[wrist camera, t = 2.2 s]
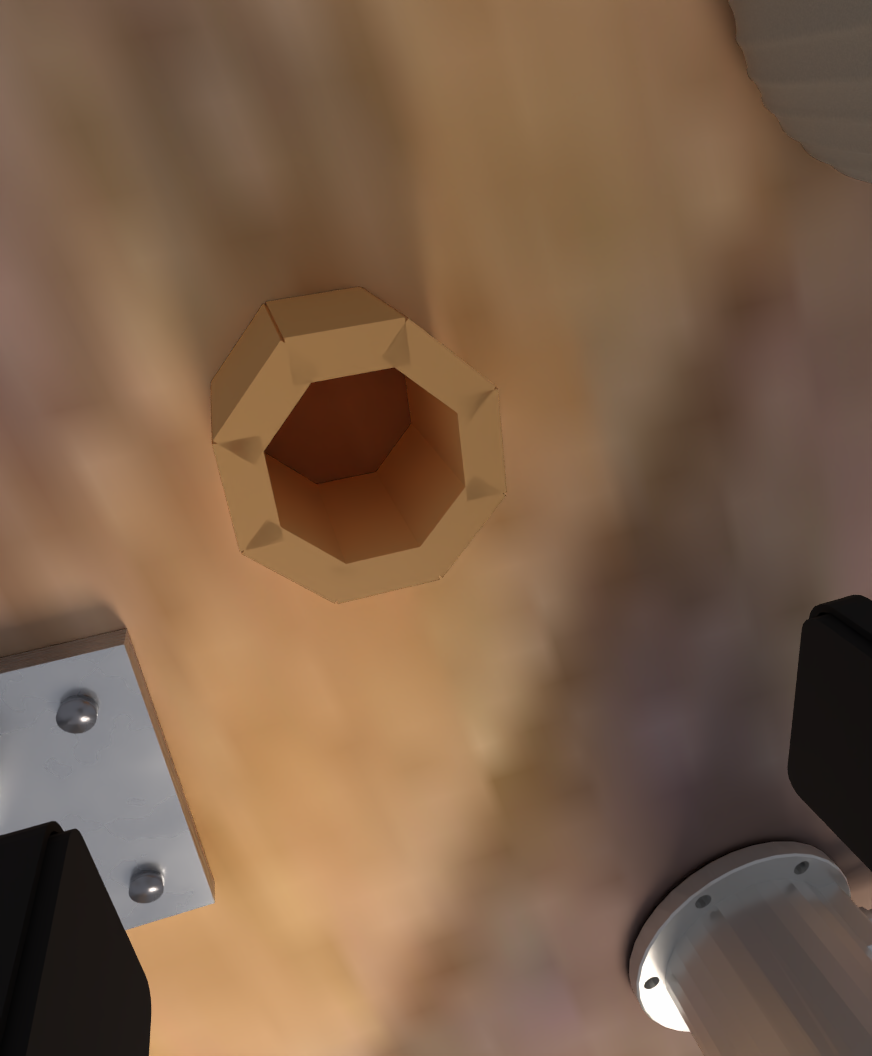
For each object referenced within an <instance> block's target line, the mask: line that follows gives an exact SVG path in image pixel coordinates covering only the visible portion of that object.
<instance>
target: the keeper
mask: <svg viewBox="0 0 872 1056" xmlns="http://www.w3.org/2000/svg"><path fill="white" fill-rule="evenodd" d="M50 821H56V822H57V823H58V824H60V826H61V827H62V829H63V831H67V830H70V829H78V830H79V831H80V833H81V835H82V836H83V839H84V841H85V843H86V845H87V847H88V850H89V852H90V854H91V856H92V858H93V861H94V863H95V865H96V867H97V869H98V872H99V874H100V876H101V878H102V881H103V883H104V885H105V887H106V889H107V892H108V894H109V896H110V898H111V900H112V903H113V905H114V907H115V909H116V911H117V914H118V916H119V918H120V920H121V923H122V925H123V927H124V929H125V930H127V929H131V928H134V927H137V926H140V925H144V924H147V923H150V922H154V921H157V920H160V919H163V918H167V917H170V916H173V915H177V914H180V913H183V912H186V911H190V910H193V909H196V908H200V907H203V906H206V905H209V904H213V903H215V882H214V879H213V876H212V873H211V870H210V867H209V865H208V862H207V859H206V856H205V853H204V850H203V847H202V844H201V841H200V839H199V836H198V833H197V830H196V827H195V824H194V821H193V818H192V815H191V813H190V810H189V807H188V804H187V801H186V798H185V795H184V792H183V789H182V787H181V784H180V781H179V778H178V775H177V772H176V769H175V766H174V763H173V761H172V758H171V755H170V752H169V749H168V746H167V743H166V740H165V737H164V735H163V732H162V729H161V726H160V723H159V720H158V717H157V714H156V711H155V709H154V706H153V703H152V700H151V697H150V694H149V691H148V688H147V685H146V683H145V680H144V677H143V674H142V671H141V668H140V665H139V662H138V659H137V657H136V654H135V651H134V648H133V645H132V642H131V639H130V636H129V633H128V631H127V629H123V630H118V631H114V632H110V633H105V634H101V635H97V636H93V637H88V638H84V639H80V640H75V641H71V642H67V643H63V644H58V645H54V646H50V647H46V648H41V649H37V650H33V651H28V652H24V653H20V654H16V655H11V656H7V657H3V658H0V835H4V834H7V833H11V832H14V831H18V830H22V829H25V828H29V827H32V826H36V825H39V824H43V823H46V822H50Z"/></svg>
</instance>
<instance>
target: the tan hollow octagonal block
mask: <svg viewBox="0 0 872 1056" xmlns="http://www.w3.org/2000/svg"><path fill="white" fill-rule="evenodd" d="M266 305H267V306H266ZM266 305H265V304H262V306H261V307H260V309H259V310H258V312H257V313H256V315H255V316H254V318H253V319H252V321H251V322H250V324H249V325H248V327H247V328H246V330H245V331H244V333H243V334H242V336H241V337H240V339H239V340H238V342H237V344H236V345H235V347H234V348H233V350H232V351H231V353H230V354H229V356H228V357H227V359H226V360H225V362H224V363H223V365H222V366H221V368H220V369H219V371H218V372H217V374H216V375H215V377H214V378H213V380H212V381H211V424H212V446H213V450H214V454H215V458H216V462H217V466H218V470H219V474H220V478H221V481H222V485H223V489H224V493H225V497H226V501H227V505H228V509H229V512H230V516H231V520H232V524H233V528H234V532H235V536H236V540H237V543H238V547H239V551H242V555H244V556H246V557H248V558H250V559H252V560H254V561H256V562H257V563H259V564H261V565H263V566H265V567H267V568H269V569H271V570H272V571H274V572H276V573H278V574H280V575H282V576H284V577H286V578H287V579H289V580H291V581H293V582H295V583H297V584H299V585H301V586H302V587H304V588H306V589H308V590H310V591H312V592H314V593H316V594H317V595H319V596H321V597H323V598H325V599H327V600H329V601H331V602H332V603H334V604H335V602H336V601H337V603H338V604H340V603H344V602H348V601H352V600H356V599H361V598H365V597H369V596H373V595H377V594H382V593H386V592H390V591H394V590H398V589H402V588H407V587H411V586H415V585H419V584H423V583H427V582H432V581H436V580H440V578H439V576H441V577H442V578H443V577H444V575H445V574H446V573H447V571H448V570H449V569H450V567H451V566H452V565H453V564H454V562H455V561H456V560H457V558H458V557H459V556H460V554H461V553H462V552H463V551H464V549H465V548H466V547H467V545H468V544H469V543H470V541H471V540H472V539H473V538H474V536H475V535H476V534H477V532H478V531H479V530H480V528H481V527H482V526H483V525H484V523H485V522H486V521H487V519H488V518H489V517H490V515H491V514H492V513H493V512H494V510H495V509H496V508H497V506H498V505H499V504H500V502H501V501H502V500H503V499H504V497H505V496H506V495H505V494H504V493H506V492H507V488H506V477H505V465H504V453H503V441H502V430H501V418H500V406H499V394H498V389H497V388H496V385H495V384H493V383H492V382H491V381H489V380H488V379H487V378H485V377H484V376H483V375H482V374H480V373H479V372H478V371H476V370H475V369H474V368H472V367H471V366H470V365H469V364H467V363H466V362H465V361H463V360H462V359H461V358H459V357H458V356H457V355H456V354H454V353H453V352H452V351H450V350H449V349H448V348H447V347H445V346H444V345H443V344H441V343H440V342H439V341H437V340H436V339H435V338H434V337H432V336H431V335H430V334H428V333H427V332H426V331H424V330H423V329H422V328H421V327H419V326H418V325H417V324H415V323H414V322H413V321H411V320H410V319H409V318H407V317H406V316H404V315H403V314H401V313H400V312H398V311H397V310H395V309H394V308H392V307H391V306H389V305H388V304H386V303H385V302H383V301H382V300H380V299H379V298H377V297H376V296H374V295H373V294H371V293H370V292H368V291H367V290H366V289H364V288H363V287H362V288H361V287H354V288H348V289H341V290H335V291H329V292H323V293H317V294H311V295H304V296H298V297H292V298H286V299H280V300H274V301H267V302H266ZM393 367H395V368H396V369H397V370H399V371H400V372H402V373H403V374H404V375H405V381H406V389H407V396H408V403H409V410H410V418H411V424H410V426H409V427H408V428H407V430H406V431H405V433H404V434H403V435H402V437H401V438H400V439H399V441H398V442H397V444H396V445H395V446H394V448H393V449H392V450H391V452H390V453H389V455H388V456H387V457H386V459H385V460H384V461H383V463H382V464H381V466H380V467H379V468H378V470H377V471H376V472H373V473H368V474H363V475H358V476H354V477H349V478H344V479H339V480H334V481H330V482H325V483H320V484H315V483H314V482H312V481H311V480H309V479H307V478H306V477H304V476H302V475H301V474H299V473H297V472H296V471H294V470H292V469H291V468H289V467H287V466H286V465H284V464H283V463H281V462H279V461H278V460H276V459H274V458H273V457H271V456H269V455H268V454H266V453H264V450H265V449H266V447H267V446H268V444H269V443H270V441H271V440H272V438H273V437H274V436H275V434H276V433H277V431H278V430H279V428H280V427H281V426H282V424H283V423H284V421H285V420H286V418H287V417H288V415H289V414H290V413H291V411H292V410H293V408H294V407H295V405H296V404H297V402H298V401H299V400H300V398H301V397H302V395H303V394H304V392H305V391H306V389H307V388H308V387H309V385H310V384H311V383H312V382H317V381H323V380H328V379H334V378H339V377H344V376H350V375H355V374H361V373H366V372H372V371H377V370H382V369H388V368H393Z"/></svg>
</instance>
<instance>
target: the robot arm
mask: <svg viewBox="0 0 872 1056" xmlns="http://www.w3.org/2000/svg"><path fill="white" fill-rule="evenodd" d="M788 775H789V779H790V782H791V784H792V786H793V788H794V790H795V791H796V793H797V794H798V795H799V796H800V798H801V799H802V800H803V801H804V802H805V803H806V804H807V805H808V806H809V807H810V808H811V809H812V810H813V811H814V812H815V813H816V814H817V815H818V816H819V817H820V818H821V819H822V820H823V821H824V823H825V824H826V825H827V826H828V827H829V828H830V829H831V830H832V831H833V832H834V833H835V834H836V835H837V836H838V837H839V838H840V839H841V840H842V841H843V842H844V843H845V844H846V845H847V846H848V847H849V848H850V849H851V851H852V852H853V853H854V854H855V855H856V856H857V857H858V858H859V859H860V860H861V861H862V862H863V863H864V864H865V865H866V866H867V867H868V868H869V869H870V870H871V871H872V601H871V600H870V599H868V598H866V597H864V596H861V595H851V596H848V597H844V598H841V599H837V600H834V601H830V602H827V603H823V604H820V605H817V606H815V607H814V608H813V610H812V611H811V613H810V617H809V619H808V620H806V621H805V622H804V624H803V627H802V633H801V643H800V652H799V662H798V672H797V681H796V691H795V701H794V710H793V720H792V730H791V739H790V749H789V759H788ZM629 978H630V983H631V987H632V990H633V992H634V994H635V996H636V998H637V999H638V1001H639V1003H640V1005H641V1007H642V1009H643V1011H644V1012H645V1013H646V1014H647V1015H648V1016H649V1017H650V1019H651V1020H653V1021H655V1022H656V1023H658V1024H660V1025H662V1026H663V1027H667V1028H671V1029H674V1030H678V1031H689V1032H691V1034H692V1035H693V1037H694V1039H695V1041H696V1042H697V1044H698V1046H699V1048H700V1049H701V1051H702V1053H703V1055H704V1056H872V909H870V910H867V909H865V908H863V907H858V906H857V905H856V904H855V903H854V902H853V901H852V900H851V890H850V887H849V884H848V881H847V878H846V877H845V875H844V874H843V873H842V871H841V870H840V868H839V867H838V866H837V865H836V864H835V863H834V862H833V861H832V860H831V859H830V858H829V857H828V856H827V855H826V854H825V853H824V852H823V851H821V850H819V849H817V848H815V847H813V846H811V845H808V844H803V843H798V842H793V841H792V842H768V843H763V844H757V845H752V846H749V847H746V848H743V849H740V850H737V851H734V852H731V853H729V854H727V855H725V856H723V857H721V858H719V859H717V860H715V861H713V862H711V863H709V864H707V865H706V866H704V867H703V868H701V869H700V870H698V871H697V872H695V873H693V874H692V875H690V876H689V877H688V878H687V879H686V880H684V881H683V882H682V883H681V884H679V885H678V886H677V887H676V888H675V889H673V890H672V891H671V892H670V893H669V894H668V895H667V897H666V898H665V899H664V900H663V901H662V902H661V903H660V904H659V905H658V906H657V907H656V908H655V910H654V911H653V913H652V914H651V915H650V917H649V918H648V920H647V921H646V922H645V924H644V926H643V927H642V929H641V931H640V933H639V935H638V937H637V939H636V941H635V944H634V947H633V951H632V954H631V958H630V964H629ZM150 1026H151V997H150V990H149V985H148V981H147V978H146V976H145V973H144V971H143V969H142V967H141V965H140V962H139V960H138V958H137V956H136V953H135V951H134V949H133V947H132V945H131V942H130V940H129V938H128V936H127V934H126V931H125V929H124V927H123V925H122V923H121V920H120V918H119V916H118V914H117V911H116V909H115V907H114V905H113V903H112V900H111V898H110V896H109V894H108V892H107V889H106V887H105V885H104V883H103V881H102V878H101V876H100V874H99V872H98V869H97V867H96V865H95V863H94V861H93V858H92V856H91V854H90V852H89V850H88V847H87V845H86V843H85V841H84V839H83V836H82V835H81V833H80V831H79V830H78V829H70V830H67V831H63V829H62V827H61V826H60V824H58V823H57V822H56V821H50V822H46V823H43V824H39V825H36V826H32V827H29V828H25V829H22V830H18V831H14V832H11V833H7V834H4V835H0V1056H149V1043H150Z"/></svg>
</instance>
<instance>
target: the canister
mask: <svg viewBox="0 0 872 1056" xmlns="http://www.w3.org/2000/svg"><path fill="white" fill-rule="evenodd" d="M728 3H729V5H730V7H731V8H732V11H733V14H734V17H735V22H736V42H737V43H738V45H739V46H740V47H741V49H742V51H743V53H744V56H745V59H746V63H747V74H748V76H749V78H750V79H751V80H752V81H754V82H755V84H756V85H757V87H758V88H759V90H760V92H761V98H762V102H763V105H764V106H765V107H766V108H767V109H768V110H769V111H770V112H771V113H773V114H774V115H775V116H776V117H777V119H778V120H779V123H780V125H781V127H782V129H783V131H784V132H785V133H786V134H787V135H788V136H789V137H791V138H793V139H794V140H796V141H798V142H801V144H802V146H803V148H804V149H805V150H806V151H807V152H808V153H809V154H810V155H811V156H812V157H814V158H816V159H817V160H819V161H822V162H824V163H827V164H830V165H831V166H832V167H833V168H834V169H836V170H837V171H839V172H841V173H842V174H844V175H846V176H849V177H852V178H854V179H857V180H861V181H865V182H869V183H872V0H729V2H728Z"/></svg>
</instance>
